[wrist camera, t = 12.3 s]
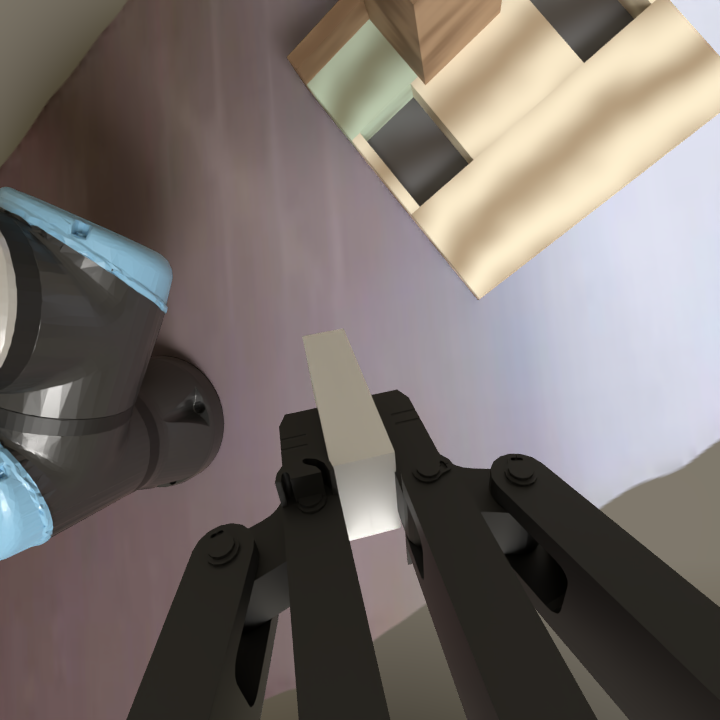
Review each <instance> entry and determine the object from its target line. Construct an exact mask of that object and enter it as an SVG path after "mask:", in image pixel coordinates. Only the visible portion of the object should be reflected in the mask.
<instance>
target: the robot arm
mask: <svg viewBox="0 0 720 720" xmlns="http://www.w3.org/2000/svg"><path fill="white" fill-rule="evenodd" d="M172 278H173V276H172V269H171V267H170V264H169V262H168V261H167V260H166V259H165V258H164V257H163V256H162V255H161V254H159V253H157V252H156V251H154V250H152V249H150V248H148V247H146V246H143V245H141V244H139V243H137V242H135V241H133V240H131V239H128V238H126V237H124V236H122V235H120V234H117V233H115V232H113V231H111V230H109V229H106V228H104V227H102V226H100V225H97V224H95V223H93V222H91V221H88V220H86V219H84V218H81V217H79V216H77V215H75V214H72V213H70V212H68V211H66V210H63V209H61V208H59V207H56V206H54V205H52V204H49V203H47V202H45V201H42V200H40V199H38V198H35V197H33V196H31V195H28V194H25V193H23V192H19V191H17V190H15V189H12V188H10V187H3V188H1V189H0V560H3V559H6V558H8V557H10V556H12V555H15V554H17V553H19V552H21V551H23V550H25V549H27V548H29V547H32V546H36V545H41V544H43V543H45V542H47V541H48V540H49V538H51V537H53V536H55V535H57V534H58V533H60V532H62V531H64V530H66V529H67V528H69V527H71V526H73V525H75V524H76V523H78V522H80V521H82V520H84V519H85V518H87V517H89V516H91V515H93V514H94V513H96V512H98V511H100V510H102V509H103V508H105V507H107V506H109V505H111V504H112V503H114V502H116V501H118V500H120V499H121V498H123V497H125V496H127V495H129V494H131V493H132V492H134V491H136V490H142V489H150V488H155V487H168V486H174V485H177V484H180V483H183V482H185V481H187V480H189V479H191V478H192V477H194V476H196V475H197V474H199V473H201V472H202V471H203V470H204V469H206V468H207V467H208V466H209V465H210V463H211V462H212V461H213V460H214V458H215V456H216V455H217V453H218V451H219V448H220V445H221V442H222V438H223V431H224V419H223V412H222V407H221V404H220V401H219V398H218V396H217V393H216V392H215V390H214V388H213V386H212V385H211V383H210V382H209V380H208V379H207V378H206V377H205V376H204V375H203V374H202V373H201V372H200V371H199V370H198V369H197V368H195V367H194V366H193V365H191V364H189V363H187V362H185V361H183V360H181V359H178V358H174V357H169V356H157V357H151V354H152V351H153V348H154V345H155V342H156V339H157V336H158V333H159V330H160V327H161V324H162V321H163V318H164V315H165V313H166V312H167V309H168V308H167V305H166V303H167V299H168V295H169V291H170V287H171V283H172ZM302 337H303V342H304V347H305V352H306V357H307V362H308V368H309V373H310V378H311V383H312V388H313V393H314V398H315V403H316V407H317V408H314V409H310V410H305V411H300V412H296V413H291V414H286V415H285V416H284V418H283V420H282V422H281V424H280V426H279V431H280V441H281V442H280V443H281V455H282V467H281V469H280V470H279V471H278V473H277V475H276V480H275V484H276V488H277V491H278V495H279V498H280V501H281V504H280V505H279V507H278V508H277V510H276V511H275V512H274V513H273V514H272V515H271V516H269V517H268V518H266V519H265V520H263V521H261V522H260V523H258V524H256V525H254V526H252V527H250V528H249V529H248V528H246V527H245V526H243V525H240V524H233V523H231V524H226V525H221V526H219V527H217V528H215V529H213V530H211V531H209V532H208V533H207V534H206V535H205V536H203V537H202V538H201V539H200V540H199V541H198V543H197V545H196V546H195V548H194V550H193V551H192V554H191V557H190V559H189V562H188V564H187V567H186V569H185V572H184V574H183V577H182V580H181V582H180V585H179V587H178V590H177V592H176V595H175V597H174V600H173V602H172V605H171V608H170V610H169V613H168V615H167V618H166V620H165V623H164V625H163V628H162V630H161V633H160V636H159V638H158V641H157V643H156V646H155V648H154V651H153V653H152V656H151V658H150V661H149V664H148V666H147V669H146V671H145V674H144V676H143V679H142V681H141V684H140V687H139V689H138V692H137V694H136V697H135V699H134V702H133V704H132V707H131V709H130V712H129V715H128V717H127V720H260V718H261V712H262V706H263V701H264V695H265V690H266V684H267V678H268V673H269V667H270V662H271V656H272V650H273V645H274V639H275V633H276V628H277V622H278V617H279V613H281V612H282V611H284V610H285V609H287V608H288V607H290V612H291V625H292V638H293V651H294V664H295V676H296V689H297V701H298V715H299V720H390V717H389V712H388V708H387V703H386V699H385V695H384V691H383V686H382V682H381V677H380V673H379V668H378V664H377V660H376V656H375V651H374V646H373V642H372V638H371V633H370V629H369V624H368V620H367V616H366V611H365V607H364V602H363V598H362V594H361V589H360V585H359V580H358V576H357V572H356V567H355V563H354V559H353V554H352V550H351V545H350V541H351V540H355V539H359V538H362V537H366V536H370V535H374V534H378V533H382V532H386V531H390V530H393V529H397V528H401V525H400V519H401V521H402V524H403V527H404V530H405V535H406V549H407V560H408V565H409V564H412V563H413V566H414V569H415V572H416V575H417V577H418V580H419V583H420V586H421V589H422V592H423V595H424V597H425V600H426V603H427V606H428V609H429V611H430V614H431V617H432V620H433V623H434V626H435V629H436V631H437V635H438V637H439V640H440V643H441V646H442V649H443V652H444V654H445V657H446V660H447V663H448V666H449V669H450V671H451V675H452V677H453V680H454V683H455V686H456V689H457V692H458V695H459V698H460V700H461V703H462V706H463V709H464V712H465V715H466V718H467V720H597V718H596V716H595V714H594V712H593V711H592V709H591V707H590V705H589V704H588V702H587V700H586V698H585V697H584V695H583V694H582V691H581V690H580V688H579V686H578V684H577V683H576V681H575V679H574V677H573V675H572V673H571V672H570V670H569V668H568V666H567V665H566V663H565V661H564V659H563V658H562V656H561V654H560V652H559V650H558V649H557V647H556V645H555V643H554V642H553V640H552V638H551V636H550V635H549V633H548V631H547V629H546V627H545V626H544V624H543V622H542V620H541V618H540V617H539V615H538V613H539V614H540V615H541V616H542V617H543V618H544V620H545V621H546V622H547V623H548V624H549V626H550V627H551V628H552V629H553V630H554V631H555V632H556V634H557V635H558V636H559V637H560V639H561V640H562V641H563V642H564V643H565V644H566V646H567V647H568V648H569V649H570V650H571V651H572V653H573V654H574V655H575V656H576V657H577V659H579V661H580V662H581V663H582V664H583V666H584V667H585V668H586V669H587V670H588V672H589V673H590V674H591V675H592V676H593V677H594V679H595V680H596V681H597V682H598V683H599V685H600V686H601V687H602V688H603V689H604V690H605V692H606V693H607V694H608V695H609V696H610V698H611V699H612V700H613V701H614V702H615V703H616V705H617V706H618V707H619V708H620V709H621V710H622V712H623V713H624V714H625V715H626V716H627V717H628V719H629V720H720V607H719V606H718V605H716V604H715V603H714V602H712V601H711V600H710V599H709V598H708V597H706V596H705V595H704V594H703V593H701V592H700V591H699V590H698V589H696V588H695V587H694V586H693V585H692V584H690V583H689V582H688V581H687V580H685V579H684V578H683V577H682V576H680V575H679V574H678V573H677V572H676V571H674V570H673V569H672V568H671V567H669V566H668V565H667V564H666V563H664V562H663V561H662V560H661V559H660V558H658V557H657V556H656V555H654V554H653V553H652V552H651V551H650V550H648V549H647V548H646V547H645V546H643V545H642V544H641V543H640V542H639V541H637V540H636V539H635V538H634V537H632V536H631V535H630V534H629V533H627V532H626V531H625V530H624V529H622V528H621V527H620V526H619V525H617V524H616V523H615V522H614V521H613V520H611V519H610V518H609V517H607V516H606V515H605V514H604V513H603V512H602V511H600V510H599V509H598V508H597V507H595V506H594V505H593V504H592V503H590V502H589V501H588V500H587V499H585V498H584V497H583V496H582V495H581V494H579V493H578V492H577V491H576V490H574V489H573V488H572V487H571V486H569V485H568V484H567V483H566V482H564V481H563V480H562V479H561V478H560V477H558V476H557V475H556V474H555V473H553V472H552V471H551V470H550V469H548V468H547V467H546V466H545V465H544V464H542V463H541V462H539V461H537V460H536V459H534V458H532V457H529V456H526V455H522V454H507V455H504V456H500V457H499V458H498V459H496V460H495V461H494V462H493V464H492V466H491V469H472V468H463V467H459V466H456V465H454V464H452V462H451V461H450V460H449V459H448V458H446V457H444V456H442V455H440V454H439V452H438V451H437V449H436V447H435V445H434V443H433V441H432V440H431V438H430V436H429V434H428V432H427V430H426V429H425V427H424V425H423V423H422V421H421V420H420V418H419V416H418V414H417V412H416V411H415V408H414V406H413V405H412V403H411V401H410V399H409V398H408V397H407V396H406V395H404V394H403V393H401V392H400V391H398V390H393V391H388V392H384V393H379V394H374V395H371V394H370V391H369V389H368V386H367V384H366V382H365V379H364V377H363V374H362V372H361V370H360V367H359V365H358V362H357V360H356V358H355V355H354V353H353V350H352V348H351V346H350V343H349V341H348V338H347V336H346V334H345V331H344V329H338V330H333V331H328V332H323V333H318V334H312V335H307V336H302ZM535 609H536V610H537V611H538V613H537V611H536V610H535Z"/></svg>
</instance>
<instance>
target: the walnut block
mask: <svg viewBox="0 0 720 720" xmlns="http://www.w3.org/2000/svg"><path fill="white" fill-rule="evenodd" d="M364 2H365V5H366V9H367V12H368V15H369V19H370V20H371V22H372V23H373V24H374V25H375V26H376V28H377V29H378V30H379V31H380V32H381V33H382V35H383V36H384V37H385V38H386V39H387V41H388V42H389V43H390V44H391V45H392V46H393V48H394V49H395V50H396V51H397V52H398V54H399V55H400V56H401V57H402V58H403V59H404V61H405V62H406V63H407V64H408V65H409V66H410V68H411V69H412V70H413V71H414V72H415V74H416V75H417V76H418V77H419V78H420V79H421V81H422V82H423V83H424V84H425V85H426V84H427V83H428V82H429V81H430V80H432V79H433V78H434V77H435V76H436V75H437V74H438V73H439V72H440V71H441V70H442V69H443V68H444V67H445V66H446V65H447V64H448V63H449V62H450V61H451V60H452V59H453V58H454V57H455V56H456V55H457V54H458V53H459V52H460V51H461V50H462V49H463V48H464V47H465V46H466V45H467V44H468V43H470V42H471V41H472V40H473V39H474V38H475V37H476V36H477V35H478V34H479V33H480V32H481V31H482V30H483V29H484V28H485V27H486V26H487V25H488V24H489V23H490V22H491V21H492V20H493V19H494V18H495V17H496V16H497V15H498V14H499V13H500V11H501V4H502V0H364Z"/></svg>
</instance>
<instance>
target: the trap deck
mask: <svg viewBox="0 0 720 720" xmlns="http://www.w3.org/2000/svg"><path fill="white" fill-rule="evenodd" d="M287 59H288V60H289V62H290V63H291V65H292V66H293V68H294V69H295V71H296V72H297V74H298V75H299V77H300V78H301V80H302V81H303V83H304V84H305V86H306V87H307V89H308V90H309V91H310V93H311V94H312V95H313V96H314V97H315V99H316V100H317V101H318V102H319V104H320V105H321V106H322V107H323V109H324V110H325V111H326V112H327V114H328V115H329V116H330V117H331V119H332V120H333V121H334V122H335V123H336V125H337V126H338V127H339V128H340V130H341V131H342V132H343V133H344V135H345V136H346V137H347V138H348V140H349V141H350V142H351V143H352V145H353V146H354V147H355V148H356V150H357V151H358V152H359V153H360V154H361V156H362V157H363V158H364V159H365V161H366V162H367V163H368V164H369V166H370V167H371V168H372V169H373V171H374V172H375V173H376V174H377V176H378V177H379V178H380V179H381V181H382V182H383V183H384V184H385V185H386V187H387V188H388V189H389V190H390V192H391V193H392V194H393V195H394V197H395V198H396V199H397V200H398V202H399V203H400V204H401V205H402V207H403V208H404V209H405V210H406V211H407V213H408V214H409V215H410V216H411V218H412V219H413V220H414V221H415V223H416V224H417V225H418V226H419V228H420V229H421V230H422V231H423V233H424V234H425V235H426V236H427V238H428V239H429V240H430V241H431V242H432V244H433V245H434V246H435V247H436V249H437V250H438V251H439V252H440V254H441V255H442V256H443V257H444V259H445V260H446V261H447V262H448V264H449V265H450V266H451V267H452V269H453V270H454V271H455V272H456V273H457V275H458V276H459V277H460V278H461V280H462V281H463V282H464V283H465V285H466V286H467V287H468V288H469V290H470V291H471V292H472V293H473V295H474V296H475V297H476V298H477V300H479V299H481V298H482V297H483V296H484V295H486V294H487V293H488V292H490V291H491V290H492V289H493V288H495V287H496V286H497V285H499V284H500V283H501V282H502V281H504V280H505V279H506V278H508V277H509V276H510V275H511V274H513V273H514V272H515V271H517V270H518V269H519V268H520V267H522V266H523V265H524V264H526V263H527V262H528V261H529V260H531V259H532V258H533V257H535V256H536V255H537V254H538V253H540V252H541V251H542V250H544V249H545V248H546V247H547V246H549V245H550V244H551V243H553V242H554V241H555V240H556V239H558V238H559V237H560V236H562V235H563V234H564V233H566V232H567V231H568V230H569V229H571V228H572V227H573V226H575V225H576V224H577V223H578V222H580V221H581V220H582V219H584V218H585V217H586V216H587V215H589V214H590V213H591V212H593V211H594V210H595V209H596V208H598V207H599V206H600V205H602V204H603V203H604V202H605V201H607V200H608V199H609V198H611V197H612V196H613V195H614V194H616V193H617V192H618V191H620V190H621V189H622V188H623V187H625V186H626V185H627V184H629V183H630V182H631V181H632V180H634V179H635V178H636V177H638V176H639V175H640V174H641V173H643V172H644V171H645V170H647V169H648V168H649V167H651V166H652V165H653V164H654V163H656V162H657V161H658V160H660V159H661V158H662V157H663V156H665V155H666V154H667V153H669V152H670V151H671V150H672V149H674V148H675V147H676V146H678V145H679V144H680V143H681V142H683V141H684V140H685V139H687V138H688V137H689V136H690V135H692V134H693V133H694V132H696V131H697V130H698V129H699V128H701V127H702V126H703V125H705V124H706V123H707V122H708V121H710V120H711V119H712V118H714V117H715V116H716V115H717V114H719V113H720V56H719V55H718V54H717V53H716V52H715V50H714V49H713V48H712V47H711V46H710V45H709V44H708V43H707V42H706V40H705V39H704V38H703V37H702V36H701V35H700V34H699V33H698V31H697V30H696V29H695V28H694V27H693V26H692V25H691V24H690V23H689V21H688V20H687V19H686V18H685V17H684V16H683V15H682V14H681V13H680V11H679V10H678V9H677V8H676V7H675V6H674V5H673V4H672V2H671V1H670V0H502V4H501V11H500V13H499V14H498V15H497V16H496V17H495V18H494V19H493V20H492V21H491V22H490V23H489V24H488V25H487V26H486V27H485V28H484V29H483V30H482V31H481V32H480V33H479V34H478V35H477V36H476V37H475V38H474V39H473V40H472V41H471V42H470V43H468V44H467V45H466V46H465V47H464V48H463V49H462V50H461V51H460V52H459V53H458V54H457V55H456V56H455V57H454V58H453V59H452V60H451V61H450V62H449V63H448V64H447V65H446V66H445V67H444V68H443V69H442V70H441V71H440V72H439V73H438V74H437V75H436V76H435V77H434V78H433V79H432V80H430V81H429V82H428V83H427V84H426V85H425V84H424V83H423V82H422V81H421V79H420V78H419V77H418V76H417V75H416V74H415V72H414V71H413V70H412V69H411V68H410V66H409V65H408V64H407V63H406V62H405V61H404V59H403V58H402V57H401V56H400V55H399V54H398V52H397V51H396V50H395V49H394V48H393V46H392V45H391V44H390V43H389V42H388V41H387V39H386V38H385V37H384V36H383V35H382V33H381V32H380V31H379V30H378V29H377V28H376V26H375V25H374V24H373V23H372V22H371V20H370V19H369V15H368V12H367V9H366V5H365V2H364V0H339V1H338V2H337V3H336V4H335V5H334V6H333V7H332V9H331V10H330V11H329V12H328V13H327V14H326V15H325V16H324V17H323V18H322V19H321V20H320V22H319V23H318V24H317V25H316V26H315V27H314V28H313V29H312V30H311V31H310V32H309V34H308V35H307V36H306V37H305V38H304V39H303V40H302V41H301V42H300V43H299V44H298V45H297V47H296V48H295V49H294V50H293V51H292V52H291V53H290V54H289V55H288V56H287Z"/></svg>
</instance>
